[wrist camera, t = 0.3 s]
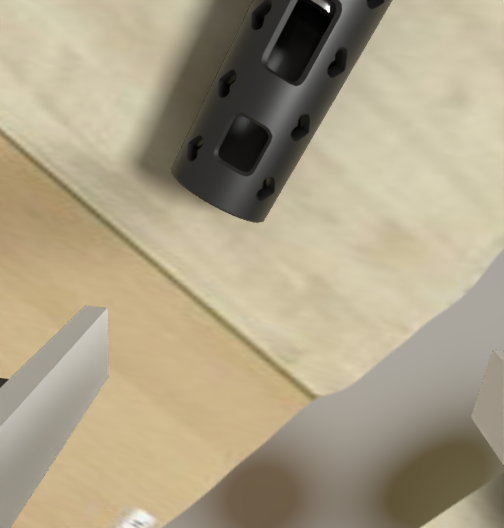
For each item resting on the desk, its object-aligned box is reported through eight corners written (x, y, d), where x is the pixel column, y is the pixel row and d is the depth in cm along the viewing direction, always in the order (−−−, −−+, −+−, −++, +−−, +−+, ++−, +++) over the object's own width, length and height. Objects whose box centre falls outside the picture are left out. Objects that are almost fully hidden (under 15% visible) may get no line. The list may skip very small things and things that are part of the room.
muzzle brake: (182, 162, 40) (153, 173, 31) (341, -161, 32) (370, -287, 22) (267, 210, 42) (265, 236, 32) (442, -90, 33) (512, -181, 24)
